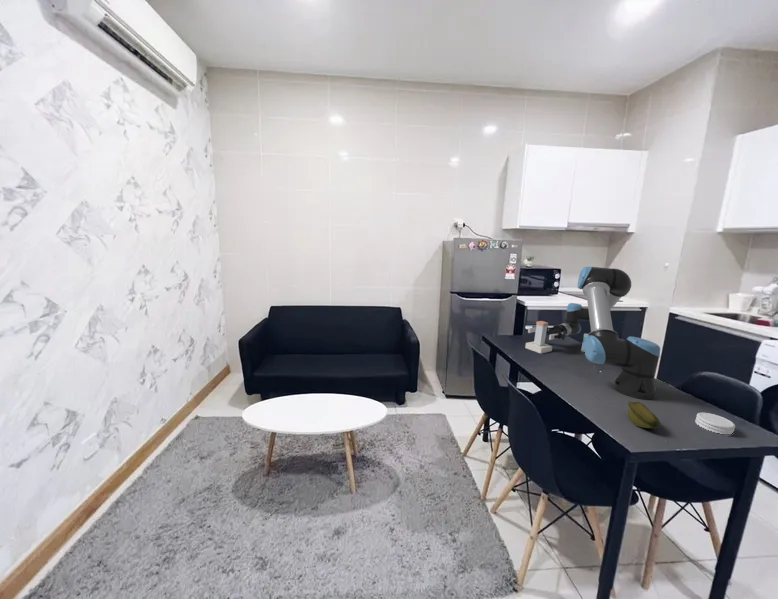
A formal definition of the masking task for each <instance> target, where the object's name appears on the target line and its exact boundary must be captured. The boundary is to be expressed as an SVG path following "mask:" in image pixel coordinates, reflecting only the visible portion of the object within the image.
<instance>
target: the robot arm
mask: <svg viewBox="0 0 778 599" xmlns="http://www.w3.org/2000/svg"><path fill="white" fill-rule="evenodd" d="M631 280H632V279H631V277H630V276H629V274H628V273H626V272H625V271H623V269H622V270H621V269H619V268H609V267H607V268H606V267H599V266H598V267H597V266H585V267H582V269H581V271H580V273H579V276H578V280H577V289H579V290H582V294H583V295H585V296H586V300H587V307H583V306H582V304H580V303H573V302H570V303H568V304H567V308H566V314H565V319H564V323H560V324H555V325H553V326H551V327H548V326H549V325H548V326H547V332H546V334H549V338H548V340H550V341H551V340H556V339H557V340H560V339H561V340H565V338H566V337H567V336H573V335H575V336H576V335H578V334H580V332H581V331H582V326H581V324H580V321H586V322H589V325H590V332H589V333H587V334H588V336H587V337H586V338H585V341H584V352H585V353H584V352H583V353H584V355H585V358H586V359H587V360H588V361H589V362H590V363H594V364H598V365H606V366H607V365H608V366H614V367H621V369H620V370H621V371H620V372H619V374H618V375H617V377H616V378H615V379H614V381H613V386H612V387H613V388H614V389H615V390H616V391H617V392H620V393H621V394H623V395H627V396H629V397H632V398H636V399H642V400H654V399H656V397H657V387H656V382H655V377H656V372H657V369H658V364H659V359H660V357H661V356H660V353H661V347H660V346H659V344H657V343H655V342H653V341H650V340H648V339H644V338H642V337H636V336H628V337H627V338H626V339H620V338H619V334H618V332H617V331H615V330H614V327H613V321H612V316H611V315H612V314H611V310H612V309H613V308H614V306H615V305H616V304H617V303H618V302H619V301H620V299H621V298H623V297H626V296H627V294H628V293H629V292H630V291H631V288H632V281H631ZM536 326H537V325H532V326H531V327H528V329H527V333H528V334H531V333H536Z"/></svg>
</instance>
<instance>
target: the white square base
mask: <svg viewBox="0 0 778 599" xmlns="http://www.w3.org/2000/svg"><path fill="white" fill-rule="evenodd" d="M525 349H527V350H529V351H532V352H535V353H538V354H545V353H549V352H552V351H553V345H550V344H548V343H545V345H544V346H537V345H535V344H534V341H529V342H525Z"/></svg>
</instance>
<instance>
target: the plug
mask: <svg viewBox="0 0 778 599" xmlns="http://www.w3.org/2000/svg"><path fill="white" fill-rule="evenodd" d="M535 324H536V325H535V326H536V332H534V341H533V342H534V344H535V345H537V346H544V345H545V344H546V339H547V338H546V337H547V333H546V332H547V326H549V322H546V321H544V320H539V321H536V323H535Z"/></svg>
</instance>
